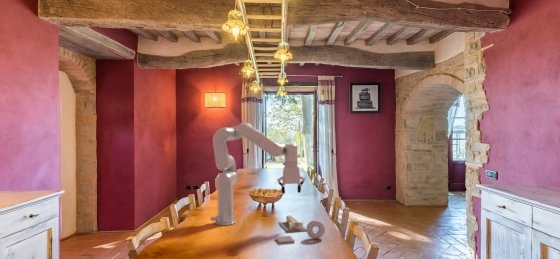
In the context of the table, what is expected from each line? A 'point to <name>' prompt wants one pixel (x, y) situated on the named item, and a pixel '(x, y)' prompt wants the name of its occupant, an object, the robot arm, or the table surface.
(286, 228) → the mat
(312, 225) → the donut
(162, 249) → the table surface
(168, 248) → the table surface
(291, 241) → the tile
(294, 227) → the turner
